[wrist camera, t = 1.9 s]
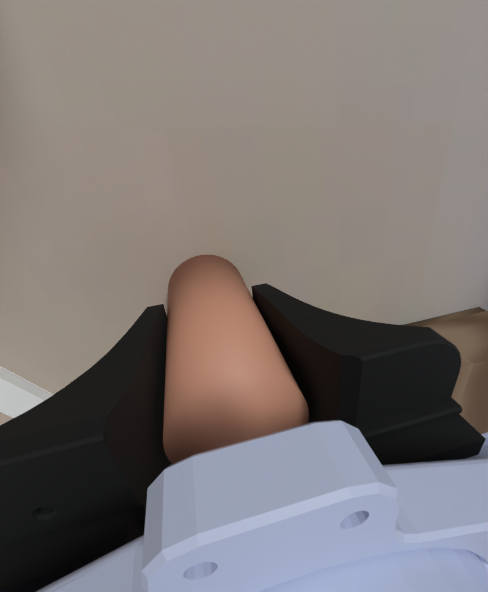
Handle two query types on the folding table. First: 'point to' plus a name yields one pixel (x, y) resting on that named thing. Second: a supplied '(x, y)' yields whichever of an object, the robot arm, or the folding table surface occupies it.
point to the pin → (221, 364)
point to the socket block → (468, 360)
